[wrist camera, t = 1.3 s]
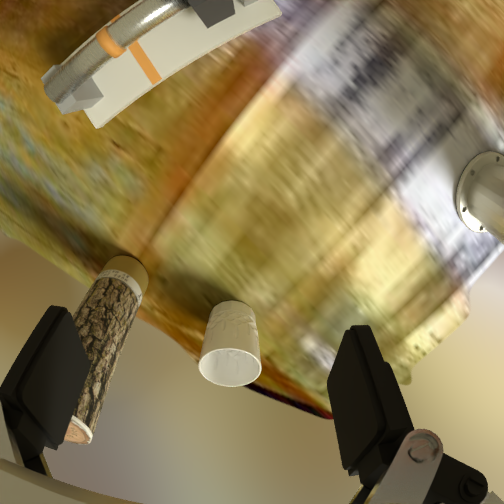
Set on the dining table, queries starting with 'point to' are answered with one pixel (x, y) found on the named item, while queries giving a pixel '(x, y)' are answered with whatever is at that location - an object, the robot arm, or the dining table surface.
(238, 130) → the dining table surface
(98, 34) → the orange strap
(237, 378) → the white cup
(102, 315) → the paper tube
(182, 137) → the dining table surface
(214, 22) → the collar
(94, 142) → the dining table surface
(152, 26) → the pipe
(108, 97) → the pipe stand
